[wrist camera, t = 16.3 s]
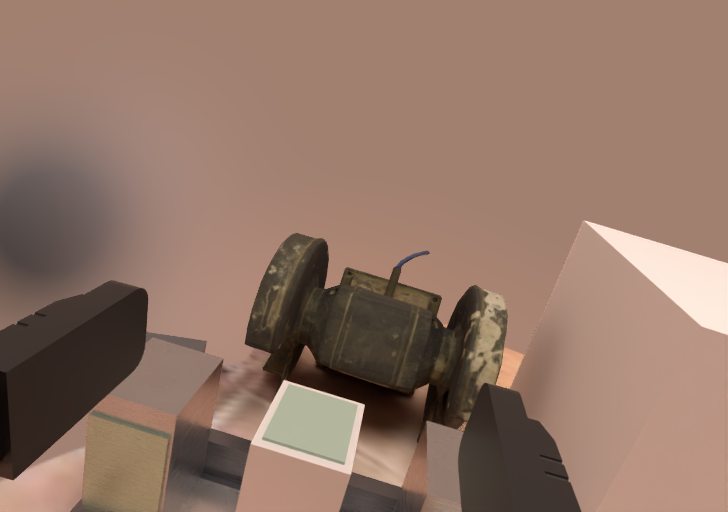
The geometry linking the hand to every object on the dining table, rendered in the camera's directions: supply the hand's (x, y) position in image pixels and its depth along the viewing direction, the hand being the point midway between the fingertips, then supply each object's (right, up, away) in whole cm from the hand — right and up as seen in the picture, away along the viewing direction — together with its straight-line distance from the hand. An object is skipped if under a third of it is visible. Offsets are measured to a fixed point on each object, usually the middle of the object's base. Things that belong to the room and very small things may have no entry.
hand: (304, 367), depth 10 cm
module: (-4, -16, +19) cm, 25 cm away
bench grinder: (+1, -13, +38) cm, 40 cm away
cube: (+23, -23, +26) cm, 42 cm away
